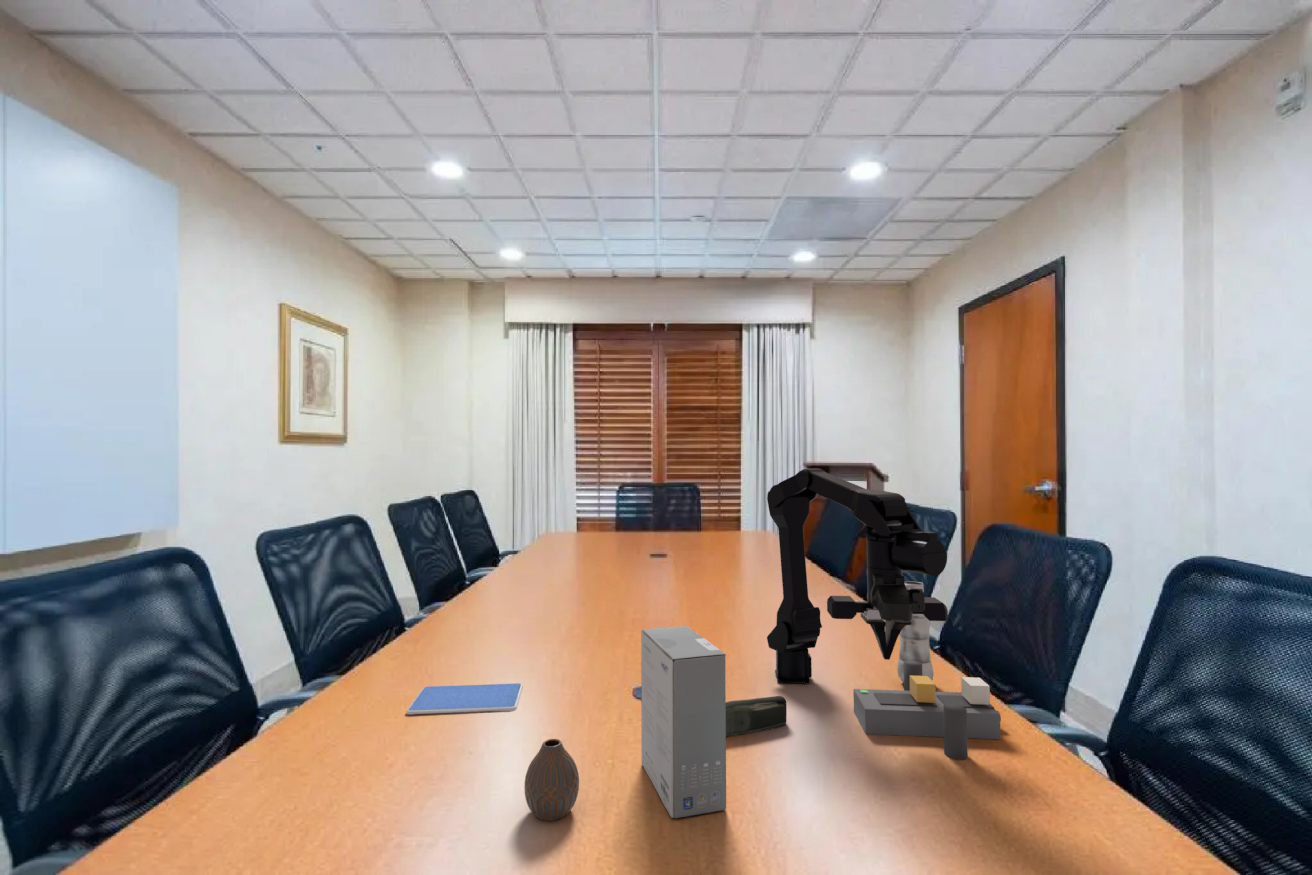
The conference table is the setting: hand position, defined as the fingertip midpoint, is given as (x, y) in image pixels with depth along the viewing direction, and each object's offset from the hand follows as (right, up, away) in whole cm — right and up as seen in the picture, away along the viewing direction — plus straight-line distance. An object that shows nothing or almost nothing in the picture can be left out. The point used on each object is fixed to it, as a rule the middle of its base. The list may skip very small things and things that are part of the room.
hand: (886, 658), depth 106 cm
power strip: (+6, -11, -1) cm, 12 cm away
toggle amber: (+6, -6, -1) cm, 9 cm away
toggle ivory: (+14, -6, -2) cm, 16 cm away
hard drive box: (-36, -11, -20) cm, 42 cm away
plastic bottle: (+12, -12, +18) cm, 25 cm away
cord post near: (+6, -11, -11) cm, 17 cm away
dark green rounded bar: (-24, -11, -3) cm, 27 cm away
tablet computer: (-75, -12, +11) cm, 76 cm away
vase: (-53, -11, -26) cm, 60 cm away
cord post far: (+8, -11, +9) cm, 17 cm away
